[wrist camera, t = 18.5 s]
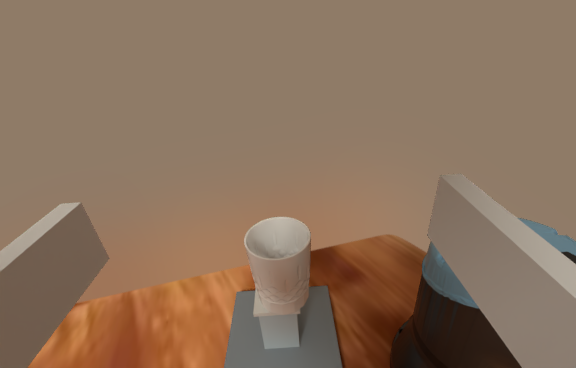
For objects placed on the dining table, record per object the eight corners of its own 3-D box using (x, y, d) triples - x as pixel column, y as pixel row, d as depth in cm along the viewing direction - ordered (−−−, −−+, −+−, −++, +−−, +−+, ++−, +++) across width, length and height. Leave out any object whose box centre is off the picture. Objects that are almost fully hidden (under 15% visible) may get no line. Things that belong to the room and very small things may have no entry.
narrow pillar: (327, 291, 50) (326, 248, 45) (345, 393, 36) (347, 346, 31) (238, 297, 50) (228, 255, 45) (221, 401, 36) (204, 356, 31)
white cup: (273, 265, 43) (265, 211, 38) (321, 281, 39) (320, 224, 35) (243, 306, 37) (230, 248, 32) (298, 329, 33) (292, 268, 28)
